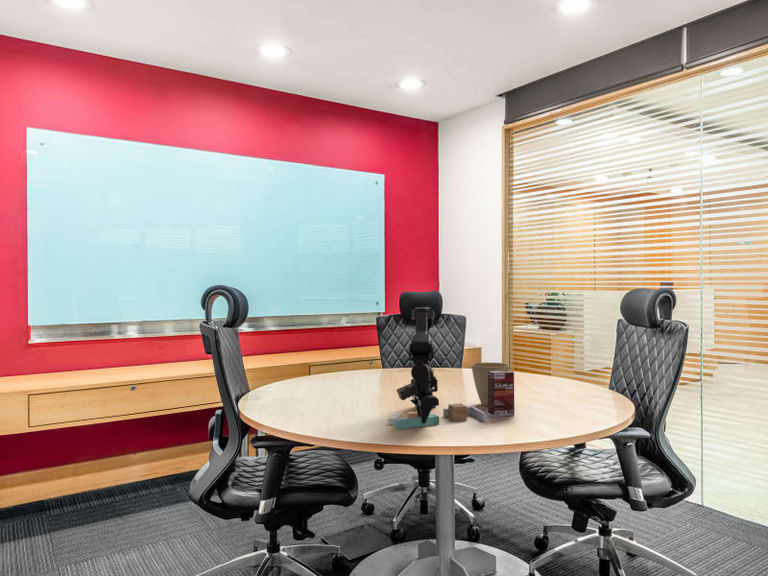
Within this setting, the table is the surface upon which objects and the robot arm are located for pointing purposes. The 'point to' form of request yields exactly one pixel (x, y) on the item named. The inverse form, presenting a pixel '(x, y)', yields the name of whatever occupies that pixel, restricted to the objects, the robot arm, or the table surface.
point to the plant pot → (485, 377)
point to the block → (457, 412)
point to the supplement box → (501, 393)
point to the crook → (416, 422)
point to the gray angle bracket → (469, 413)
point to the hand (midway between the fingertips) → (422, 422)
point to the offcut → (412, 414)
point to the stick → (395, 417)
